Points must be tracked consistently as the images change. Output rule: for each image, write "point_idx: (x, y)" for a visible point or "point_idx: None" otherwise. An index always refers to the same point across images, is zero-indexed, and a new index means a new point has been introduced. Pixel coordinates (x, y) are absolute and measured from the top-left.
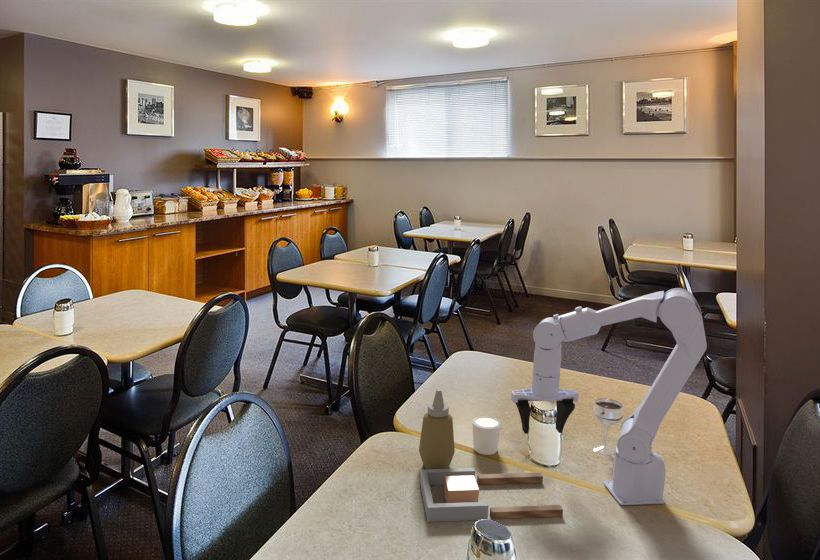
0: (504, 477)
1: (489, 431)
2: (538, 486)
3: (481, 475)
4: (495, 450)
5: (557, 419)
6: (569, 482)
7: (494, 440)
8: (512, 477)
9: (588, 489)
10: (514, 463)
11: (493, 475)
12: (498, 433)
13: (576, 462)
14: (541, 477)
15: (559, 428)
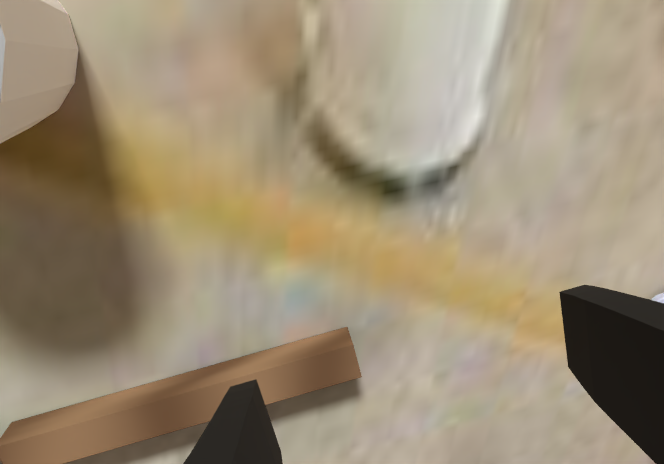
0: (152, 436)
1: None
2: (332, 389)
3: (19, 449)
4: (64, 94)
5: (635, 357)
6: (489, 321)
7: (17, 129)
8: (196, 424)
9: (562, 356)
10: (208, 201)
11: (89, 433)
12: (23, 102)
13: (579, 110)
14: (353, 376)
15: (596, 397)
